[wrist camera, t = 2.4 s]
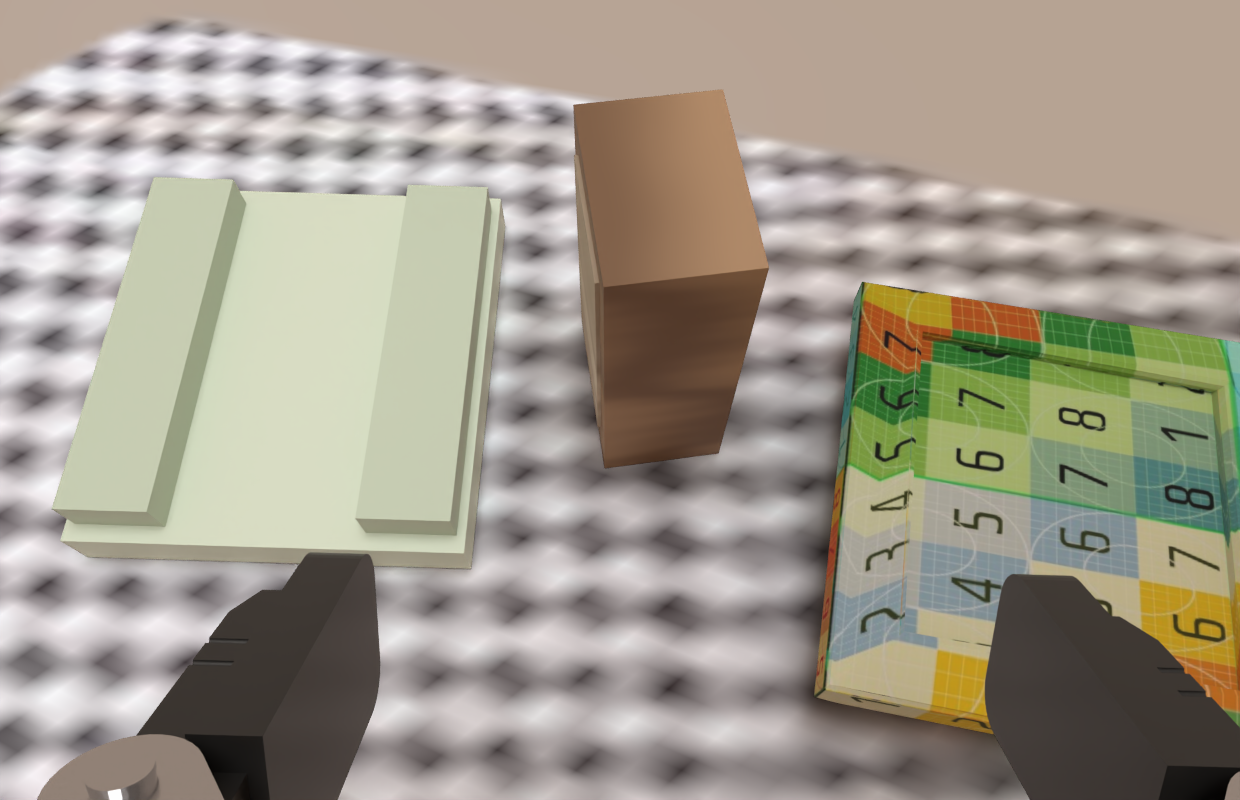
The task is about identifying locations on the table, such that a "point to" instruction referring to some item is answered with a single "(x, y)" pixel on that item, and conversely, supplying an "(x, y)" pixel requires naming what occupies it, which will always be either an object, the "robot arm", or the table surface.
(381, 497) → the plinth
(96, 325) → the table surface
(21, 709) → the table surface
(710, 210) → the wooden block
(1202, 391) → the puzzle game
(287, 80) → the table surface
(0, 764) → the table surface
